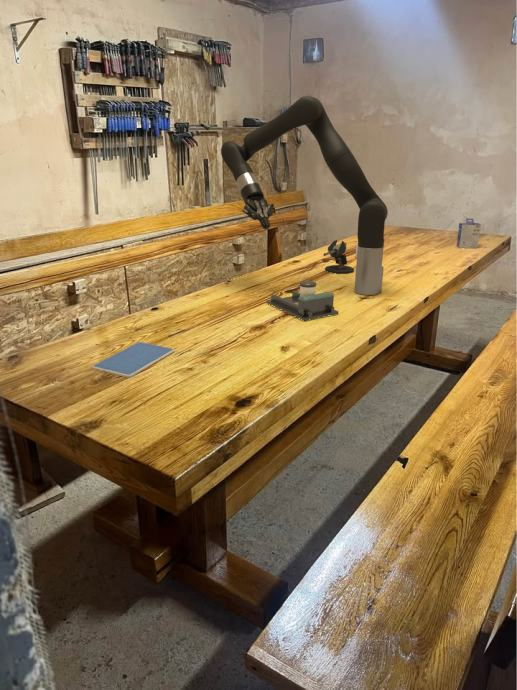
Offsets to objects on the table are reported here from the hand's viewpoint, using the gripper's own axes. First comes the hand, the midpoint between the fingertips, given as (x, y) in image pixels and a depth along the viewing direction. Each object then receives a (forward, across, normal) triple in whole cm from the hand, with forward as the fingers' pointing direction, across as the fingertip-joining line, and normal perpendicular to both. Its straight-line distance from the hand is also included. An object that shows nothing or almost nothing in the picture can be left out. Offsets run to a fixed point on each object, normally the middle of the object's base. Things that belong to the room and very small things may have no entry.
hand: (267, 227), depth 191 cm
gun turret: (+8, +43, +26) cm, 51 cm away
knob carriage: (+34, 0, -2) cm, 34 cm away
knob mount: (+32, 0, +1) cm, 32 cm away
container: (-2, +73, +36) cm, 82 cm away
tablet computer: (+42, -63, -7) cm, 76 cm away
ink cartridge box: (+4, +136, +31) cm, 139 cm away
